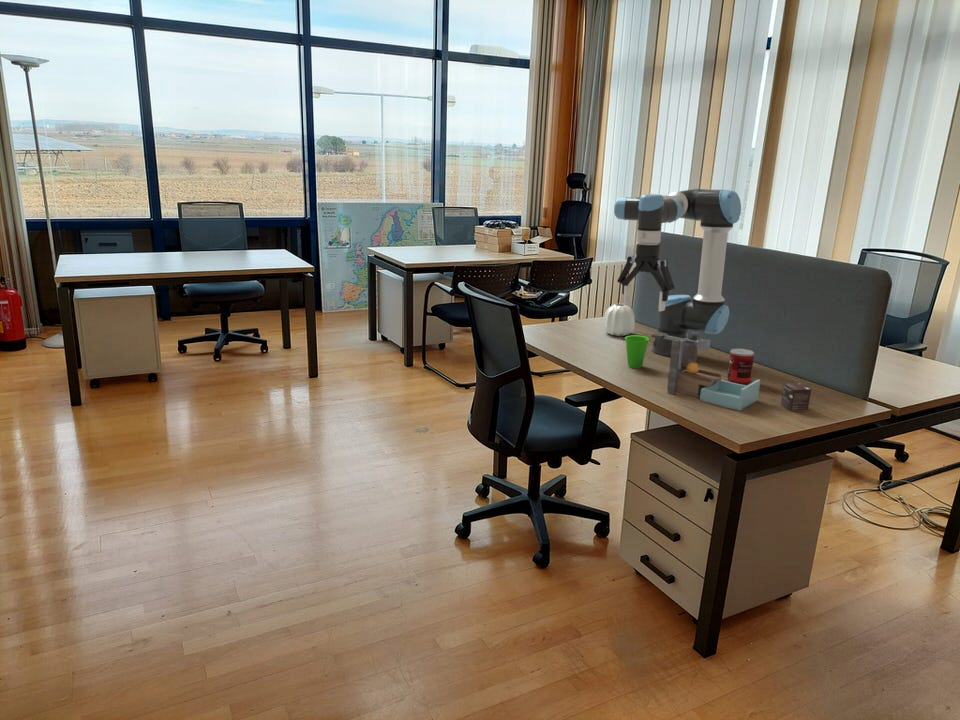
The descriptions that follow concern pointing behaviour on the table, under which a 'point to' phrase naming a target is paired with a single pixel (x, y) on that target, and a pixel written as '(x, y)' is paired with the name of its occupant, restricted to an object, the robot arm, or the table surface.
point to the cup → (636, 350)
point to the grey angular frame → (683, 379)
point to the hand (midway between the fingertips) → (643, 307)
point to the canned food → (740, 366)
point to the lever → (685, 347)
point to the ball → (692, 368)
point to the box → (796, 397)
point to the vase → (619, 320)
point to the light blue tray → (731, 394)
